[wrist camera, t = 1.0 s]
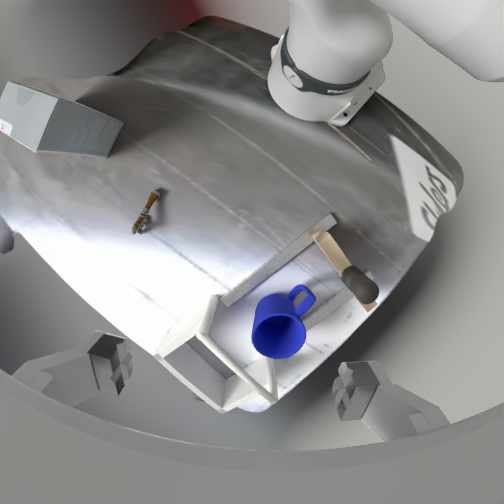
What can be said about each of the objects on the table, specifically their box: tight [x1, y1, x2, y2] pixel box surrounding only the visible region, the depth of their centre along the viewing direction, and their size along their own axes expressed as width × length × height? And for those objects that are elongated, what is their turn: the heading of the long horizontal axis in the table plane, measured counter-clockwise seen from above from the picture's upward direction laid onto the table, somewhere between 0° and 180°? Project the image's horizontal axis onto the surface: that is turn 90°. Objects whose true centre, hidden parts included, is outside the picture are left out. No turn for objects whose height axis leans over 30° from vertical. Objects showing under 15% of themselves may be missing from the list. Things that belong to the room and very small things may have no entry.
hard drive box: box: [0, 81, 124, 158], centre depth 31 cm, size 16×8×20 cm, turn 61°
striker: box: [308, 226, 379, 312], centre depth 38 cm, size 3×14×14 cm, turn 40°
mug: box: [252, 285, 316, 359], centre depth 43 cm, size 8×12×10 cm
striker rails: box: [220, 213, 374, 331], centre depth 47 cm, size 24×15×1 cm, turn 129°
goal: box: [154, 295, 278, 414], centre depth 44 cm, size 13×18×14 cm
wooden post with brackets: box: [132, 189, 161, 234], centre depth 44 cm, size 2×8×4 cm, turn 154°
